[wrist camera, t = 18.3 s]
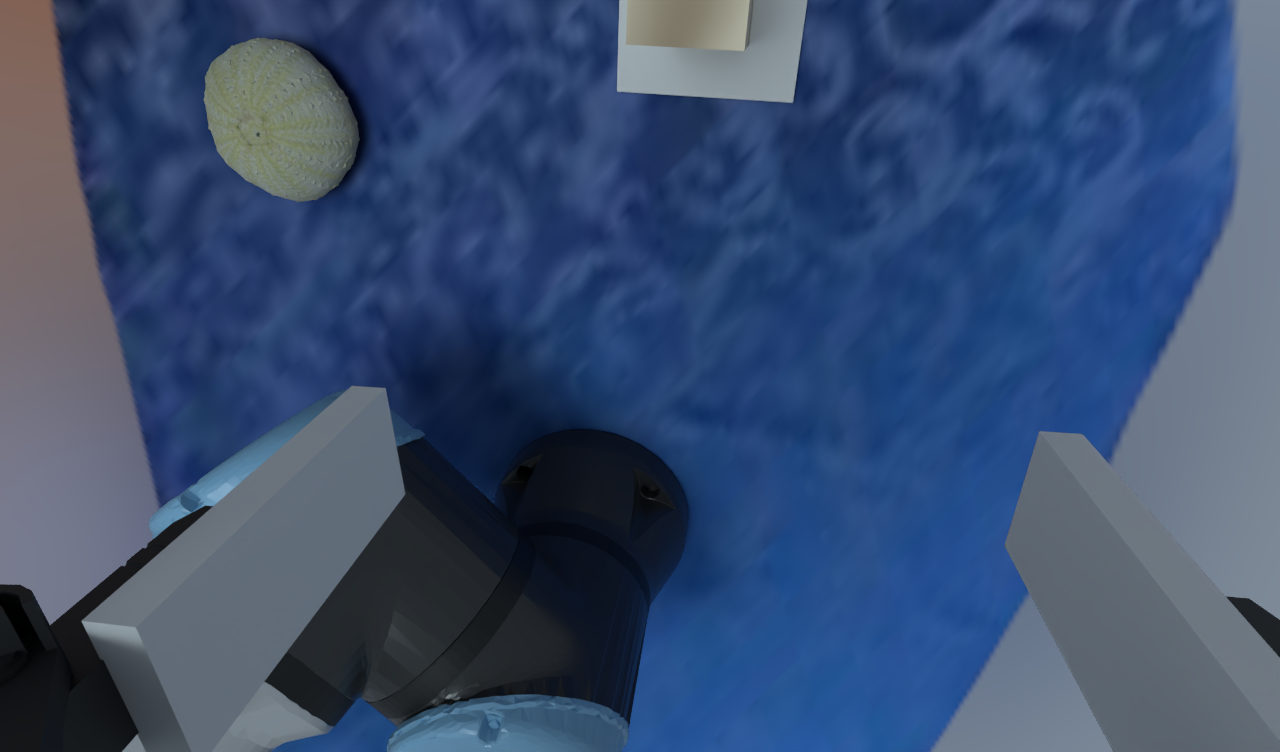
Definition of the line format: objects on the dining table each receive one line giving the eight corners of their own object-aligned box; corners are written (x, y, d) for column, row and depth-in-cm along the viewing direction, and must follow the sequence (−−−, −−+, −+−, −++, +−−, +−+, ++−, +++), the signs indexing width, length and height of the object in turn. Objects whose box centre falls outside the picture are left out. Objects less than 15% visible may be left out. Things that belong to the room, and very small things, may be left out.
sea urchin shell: (305, 3, 38) (288, 119, 35) (390, 98, 45) (380, 200, 43) (176, 43, 40) (151, 155, 38) (277, 128, 47) (261, 226, 45)
